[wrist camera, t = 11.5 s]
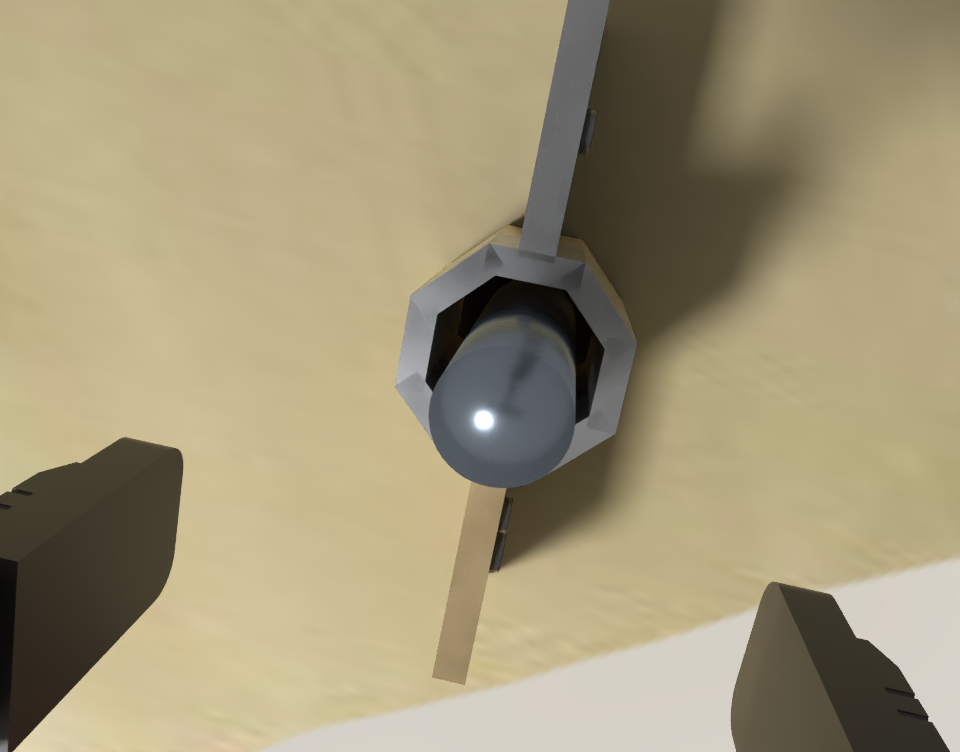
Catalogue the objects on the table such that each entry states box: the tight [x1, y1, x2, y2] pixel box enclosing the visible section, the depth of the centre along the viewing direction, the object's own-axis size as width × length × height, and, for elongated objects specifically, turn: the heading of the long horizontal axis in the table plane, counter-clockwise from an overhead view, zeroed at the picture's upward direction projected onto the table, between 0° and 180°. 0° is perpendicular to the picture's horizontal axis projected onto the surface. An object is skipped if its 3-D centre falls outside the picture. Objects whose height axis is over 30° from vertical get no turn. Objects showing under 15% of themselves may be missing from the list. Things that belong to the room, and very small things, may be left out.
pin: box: [428, 280, 576, 488], centre depth 25 cm, size 3×3×12 cm
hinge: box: [395, 0, 638, 685], centre depth 28 cm, size 20×6×7 cm, turn 169°
